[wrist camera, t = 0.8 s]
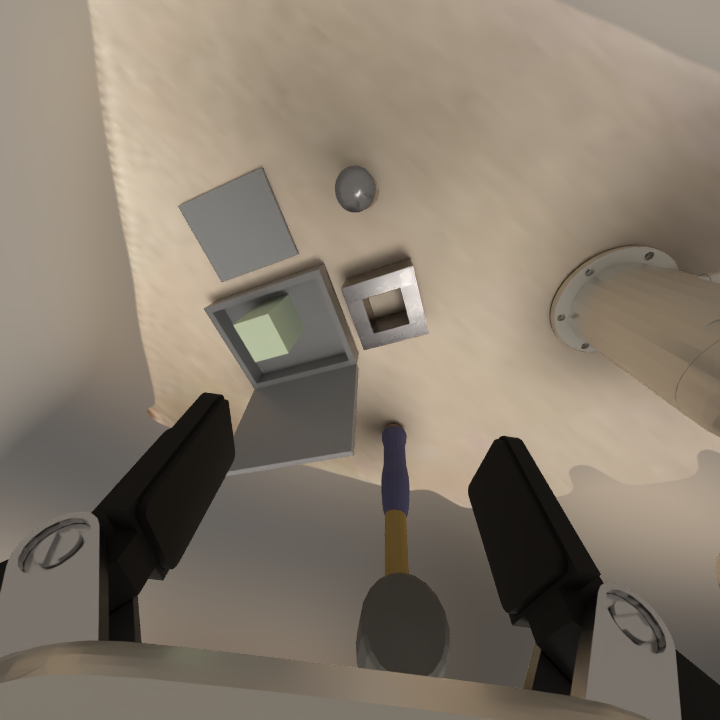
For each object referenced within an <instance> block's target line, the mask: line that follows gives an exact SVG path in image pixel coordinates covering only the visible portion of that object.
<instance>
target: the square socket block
mask: <svg viewBox="0 0 720 720" xmlns="http://www.w3.org/2000/svg"><path fill="white" fill-rule="evenodd" d="M398 288H401V292H402V296H403V300H404V303H405V307H406V311H403V312H399V313H396V314H392V315H389V316H385V317H382V318H378V319H375V317H374V314H373V311H372V308H371V305H370V302H369V299H368V297H371V296H375V295H378V294H381V293H384V292H388V291H391V290H394V289H398ZM341 290H342V292H343V295H344V298H345V300H346V303H347V306H348V308H349V311H350V314H351V317H352V319H353V322H354V325H355V327H356V330H357V333H358V335H359V338H360V341H361V344H362V346H363V349H364V350H367V349H371V348H374V347H378V346H382V345H386V344H390V343H394V342H398V341H402V340H406V339H410V338H413V337H417V336H421V335H425V334H429V332H428V328H427V324H426V319H425V315H424V311H423V307H422V302H421V298H420V294H419V290H418V285H417V281H416V277H415V273H414V268H413V265H412V262H411V259H410V258H408V259H405V260H402V261H399V262H395V263H392V264H389V265H386V266H383V267H380V268H377V269H374V270H371V271H368V272H365V273H362V274H359V275H356V276H352V277H349V278H346V280H345V282H344V284H343V286H342V288H341Z"/></svg>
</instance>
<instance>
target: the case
mask: <svg viewBox="0 0 720 720" xmlns="http://www.w3.org/2000/svg"><path fill="white" fill-rule="evenodd" d="M287 294H289V296H290V298H291V300H292V303H293V305H294V307H295V309H296V311H297V313H298V315H299V318H300V320H301V322H302V324H303V326H304V330H303V331H302V333H301V335H300V336H299V338H298V339H297V341H296V342H295V344H294V346H293V347H292V349H291V350H290V352H289V353H288V354H284V355H280V356H277V357H273V358H269V359H266V360H262V361H258V362H255V361H254V359H253V358H252V356H251V354H250V353H249V351H248V349H247V348H246V346H245V344H244V343H243V341H242V339H241V338H240V336H239V334H238V333H237V331H236V329H235V328H234V326H233V325H234V324H235V323H236V322H237V321H238V320H240V319H241V318H242V317H243V316H244V315H246V314H247V313H248V312H249V311H250V310H252V309H253V308H254V307H255V306H256V305H258V304H260V303H263V302H266V301H269V300H272V299H275V298H278V297H281V296H284V295H287ZM204 310H205V312H206V313H207V315H208V316H209V318H210V319H211V321H212V323H213V324H214V326H215V327H216V329H217V330H218V332H219V334H220V335H221V337H222V338H223V340H224V342H225V343H226V345H227V346H228V348H229V349H230V351H231V353H232V354H233V356H234V357H235V359H236V360H237V362H238V364H239V365H240V367H241V368H242V370H243V372H244V373H245V375H246V376H247V378H248V379H249V381H250V383H251V384H252V386H253V387H254V389H257V388H261V387H266V386H270V385H274V384H278V383H282V382H286V381H290V380H294V379H298V378H302V377H306V376H310V375H315V374H319V373H323V372H327V371H331V370H335V369H339V368H343V367H347V366H351V365H355V364H357V359H358V354H359V353H358V350H357V348H356V345H355V343H354V340H353V337H352V335H351V332H350V330H349V327H348V324H347V322H346V319H345V317H344V314H343V311H342V309H341V306H340V303H339V301H338V298H337V296H336V293H335V290H334V288H333V285H332V283H331V280H330V277H329V275H328V272H327V270H326V267H325V264H322V265H319V266H316V267H313V268H310V269H307V270H304V271H301V272H299V273H296V274H293V275H290V276H287V277H284V278H281V279H278V280H275V281H273V282H270V283H267V284H264V285H261V286H258V287H255V288H252V289H249V290H247V291H244V292H241V293H238V294H235V295H232V296H229V297H226V298H224V299H221V300H218V301H216V302H214V303H212V304H211V305H209V306H207V307H206V308H204Z"/></svg>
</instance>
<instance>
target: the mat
mask: <svg viewBox="0 0 720 720" xmlns="http://www.w3.org/2000/svg"><path fill="white" fill-rule="evenodd" d="M178 207H179V209H180V211H181V212H182V214H183V216H184V218H185V219H186V221H187V223H188V225H189V226H190V228H191V230H192V232H193V233H194V235H195V237H196V239H197V240H198V242H199V244H200V246H201V247H202V249H203V251H204V252H205V254H206V256H207V258H208V259H209V261H210V263H211V265H212V266H213V268H214V270H215V272H216V273H217V275H218V277H219V279H220V280H221V282H224V281H226V280H229V279H232V278H235V277H237V276H240V275H243V274H246V273H248V272H251V271H254V270H257V269H259V268H262V267H265V266H268V265H270V264H273V263H276V262H279V261H281V260H284V259H287V258H290V257H292V256H295V255H298V254H299V253H298V250H297V248H296V245H295V243H294V241H293V238H292V236H291V234H290V231H289V229H288V226H287V224H286V222H285V219H284V217H283V214H282V212H281V210H280V207H279V205H278V203H277V200H276V198H275V195H274V193H273V191H272V188H271V186H270V183H269V181H268V179H267V176H266V174H265V171H264V169H263V168H260V169H257V170H255V171H253V172H251V173H249V174H247V175H244V176H242V177H240V178H238V179H236V180H234V181H231V182H229V183H227V184H225V185H223V186H221V187H219V188H216V189H214V190H212V191H210V192H208V193H206V194H203V195H201V196H199V197H197V198H195V199H193V200H190V201H188V202H186V203H184V204H182V205H180V206H178Z"/></svg>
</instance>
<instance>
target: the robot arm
mask: <svg viewBox="0 0 720 720" xmlns="http://www.w3.org/2000/svg"><path fill="white" fill-rule="evenodd" d="M550 320H551V325H552V329H553V331H554V333H555V334H556V336H557V337H558V338H559V339H560V340H561V341H562V342H564V343H565V344H566V345H567V346H569V347H571V348H573V349H576V350H579V351H583V352H600V353H601V354H603V355H604V356H606V357H607V358H608V359H610V360H611V361H612V362H614V363H615V364H616V365H618V366H619V367H620V368H622V369H623V370H624V371H626V372H627V373H629V374H630V375H631V376H633V377H634V378H635V379H637V380H638V381H639V382H641V383H642V384H643V385H645V386H646V387H648V388H649V389H650V390H652V391H653V392H654V393H656V394H657V395H658V396H660V397H661V398H662V399H664V400H665V401H666V402H668V403H669V404H671V405H672V406H673V407H675V408H676V409H677V410H679V411H680V412H681V413H683V414H684V415H686V416H687V417H689V418H690V419H691V420H693V421H694V422H695V423H697V424H698V425H700V426H701V427H703V428H704V429H706V430H707V431H709V432H711V433H713V434H715V435H717V436H719V437H720V271H714V272H710V273H706V274H702V275H700V276H698V275H694V274H690V273H686V272H682V271H679V267H678V266H677V264H676V262H675V261H674V259H673V258H672V257H670V256H669V255H668V254H667V253H665V252H663V251H661V250H658V249H655V248H651V247H646V246H625V247H619V248H616V249H612V250H608V251H606V252H604V253H602V254H599V255H597V256H595V257H593V258H592V259H590V260H589V261H587V262H585V263H584V264H582V265H581V266H580V267H579V268H578V269H576V270H575V271H574V272H573V273H572V274H571V275H570V276H569V277H568V278H567V279H566V280H565V282H564V283H563V284H562V286H561V287H560V289H559V290H558V292H557V294H556V296H555V298H554V300H553V304H552V307H551V315H550ZM234 458H235V445H234V438H233V430H232V423H231V416H230V408H229V402H228V400H224V396H223V395H220V394H213V393H206V392H205V393H203V394H201V395H200V397H199V398H198V399H197V400H196V401H195V402H194V403H193V404H192V406H191V407H190V408H189V409H188V410H187V411H186V412H185V413H184V415H183V416H182V417H181V418H180V419H179V420H178V421H177V423H176V424H175V425H174V426H173V427H172V428H170V429H168V430H167V431H165V432H164V433H163V434H162V435H161V436H160V437H159V438H158V440H157V441H156V442H155V443H154V444H153V445H152V446H151V447H150V448H149V449H148V451H147V452H146V453H145V454H144V455H143V456H142V457H141V458H140V459H139V461H138V462H137V463H136V464H135V465H134V466H133V467H132V468H131V469H130V471H129V472H128V473H127V474H126V475H125V476H124V477H123V478H122V479H121V480H120V482H119V483H118V484H117V485H116V486H115V487H114V488H113V489H112V491H111V492H110V493H109V494H108V495H107V496H106V497H105V498H104V499H103V500H102V502H101V503H100V504H99V505H98V506H97V507H96V508H95V510H94V511H93V512H92V513H88V512H72V513H68V514H65V515H62V516H59V517H57V518H54V519H52V520H50V521H48V522H46V523H44V524H43V525H41V526H40V527H38V528H37V529H35V530H34V531H32V532H31V533H30V534H29V535H28V536H27V537H26V538H24V539H23V540H22V541H21V542H20V543H19V545H18V546H17V547H16V548H15V550H14V551H13V552H12V554H11V556H10V558H9V559H8V560H6V561H4V562H1V563H0V720H720V685H718V684H717V683H716V682H715V681H714V680H712V679H711V678H710V677H709V676H707V675H706V674H705V673H704V672H703V671H702V670H700V669H699V668H698V667H697V666H695V665H694V664H693V663H692V662H690V661H689V660H688V659H687V658H686V657H684V656H683V655H682V654H681V653H679V652H678V651H677V650H676V649H675V647H674V643H673V639H672V637H671V635H670V633H669V631H668V629H667V627H666V625H665V624H664V623H663V621H662V620H661V619H660V617H659V616H658V614H657V613H656V612H655V611H654V610H653V609H652V608H651V607H650V606H649V605H648V603H647V602H645V601H644V600H643V599H642V598H641V597H639V596H638V595H637V594H636V593H634V592H633V591H631V590H629V589H628V588H626V587H625V586H622V585H619V584H617V583H611V582H610V583H609V582H606V583H603V582H602V580H601V578H600V577H599V576H600V575H601V574H600V572H599V570H598V569H597V567H596V566H595V564H594V562H593V560H592V559H591V557H590V555H589V553H588V552H587V550H586V548H585V547H584V545H583V543H582V541H581V540H580V538H579V536H578V535H577V533H576V531H575V530H574V528H573V526H572V525H571V523H570V521H569V520H568V518H567V516H566V514H565V513H564V511H563V509H562V507H561V506H560V504H559V502H558V501H557V499H556V497H555V495H554V494H553V492H552V490H551V489H550V487H549V485H548V484H547V482H546V480H545V478H544V477H543V475H542V473H541V472H540V470H539V468H538V467H537V465H536V463H535V461H534V460H533V458H532V456H531V455H530V453H529V451H528V450H527V448H526V446H525V444H524V443H523V441H522V440H521V439H519V438H514V437H507V436H501V437H500V438H499V439H496V440H494V442H493V443H492V445H491V447H490V449H489V451H488V452H487V454H486V456H485V458H484V460H483V461H482V463H481V465H480V467H479V468H478V470H477V472H476V474H475V476H474V477H473V479H472V481H471V483H470V484H469V488H468V495H469V498H470V502H471V505H472V508H473V512H474V515H475V518H476V521H477V525H478V528H479V531H480V535H481V538H482V541H483V545H484V548H485V552H486V555H487V558H488V561H489V564H490V568H491V571H492V575H493V578H494V581H495V585H496V588H497V591H498V594H499V598H500V601H501V604H502V607H503V609H504V610H505V611H506V612H507V613H509V616H510V619H511V623H512V625H513V626H521V627H528V628H531V630H532V633H533V636H534V639H535V644H534V648H533V652H532V656H531V659H530V663H529V667H528V671H527V675H526V679H525V683H524V687H523V689H521V688H514V687H507V686H499V685H491V684H483V683H475V682H467V681H459V680H452V679H444V678H436V677H429V676H421V675H413V674H405V673H397V672H389V671H380V670H372V669H364V668H356V667H348V666H340V665H332V664H323V663H315V662H307V661H299V660H291V659H282V658H273V657H264V656H256V655H248V654H240V653H230V652H223V651H214V650H206V649H197V648H188V647H177V646H166V645H156V644H146V643H142V641H141V629H140V616H139V603H138V594H139V593H140V591H141V590H142V588H143V586H144V585H145V583H146V581H147V580H148V579H155V580H164V578H165V576H166V574H167V572H168V571H169V569H174V568H175V567H176V566H177V564H178V563H179V561H180V559H181V558H182V556H183V554H184V552H185V550H186V548H187V547H188V545H189V543H190V541H191V539H192V537H193V535H194V534H195V532H196V530H197V528H198V526H199V524H200V522H201V521H202V519H203V517H204V515H205V513H206V511H207V510H208V508H209V506H210V504H211V502H212V500H213V499H214V497H215V495H216V493H217V491H218V489H219V487H220V486H221V484H222V482H223V480H224V478H225V476H226V475H227V473H228V471H229V469H230V467H231V465H232V463H233V461H234ZM715 573H716V578H717V582H718V585H719V587H720V553H719V555H718V557H717V560H716V566H715Z"/></svg>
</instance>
